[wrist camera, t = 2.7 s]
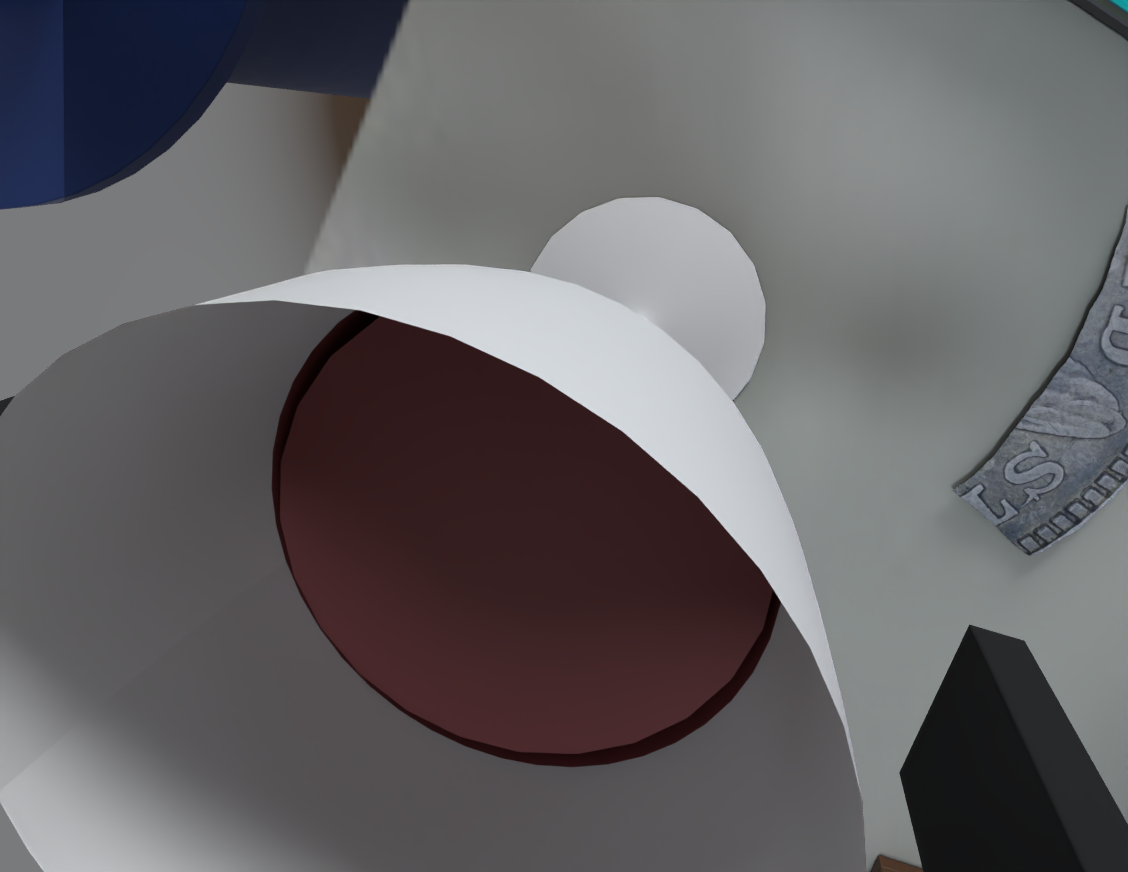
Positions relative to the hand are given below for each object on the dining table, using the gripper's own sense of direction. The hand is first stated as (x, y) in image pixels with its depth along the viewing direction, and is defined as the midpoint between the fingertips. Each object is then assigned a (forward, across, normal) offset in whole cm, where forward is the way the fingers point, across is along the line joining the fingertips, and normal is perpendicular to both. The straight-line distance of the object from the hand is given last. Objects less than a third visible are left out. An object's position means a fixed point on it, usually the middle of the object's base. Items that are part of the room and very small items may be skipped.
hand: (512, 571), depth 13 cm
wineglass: (+18, 0, 0) cm, 18 cm away
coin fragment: (+18, +15, +2) cm, 23 cm away
